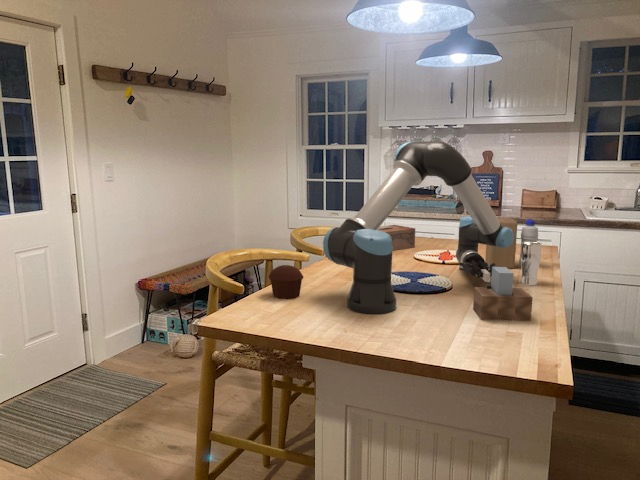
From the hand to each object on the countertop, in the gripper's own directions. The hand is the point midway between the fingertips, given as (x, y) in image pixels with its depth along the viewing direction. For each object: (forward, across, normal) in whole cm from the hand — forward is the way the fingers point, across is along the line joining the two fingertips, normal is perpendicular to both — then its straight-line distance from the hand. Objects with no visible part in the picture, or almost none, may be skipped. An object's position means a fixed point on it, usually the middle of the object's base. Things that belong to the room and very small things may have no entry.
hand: (487, 277), depth 170 cm
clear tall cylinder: (-20, -20, -7) cm, 29 cm away
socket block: (+18, 0, -7) cm, 19 cm away
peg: (+17, 0, -6) cm, 18 cm away
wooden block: (-48, -16, -7) cm, 51 cm away
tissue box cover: (-83, +29, -7) cm, 89 cm away
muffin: (+4, +66, -7) cm, 67 cm away
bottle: (-47, -27, -7) cm, 55 cm away
